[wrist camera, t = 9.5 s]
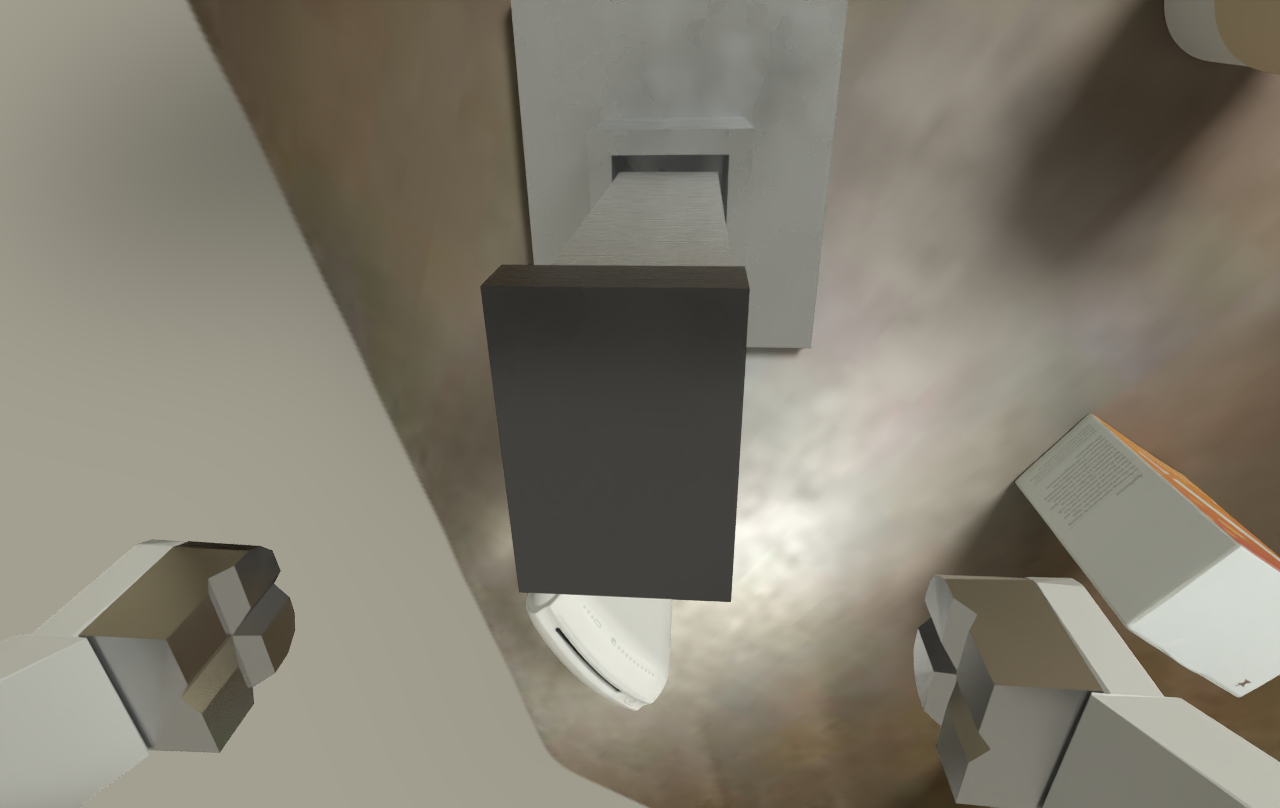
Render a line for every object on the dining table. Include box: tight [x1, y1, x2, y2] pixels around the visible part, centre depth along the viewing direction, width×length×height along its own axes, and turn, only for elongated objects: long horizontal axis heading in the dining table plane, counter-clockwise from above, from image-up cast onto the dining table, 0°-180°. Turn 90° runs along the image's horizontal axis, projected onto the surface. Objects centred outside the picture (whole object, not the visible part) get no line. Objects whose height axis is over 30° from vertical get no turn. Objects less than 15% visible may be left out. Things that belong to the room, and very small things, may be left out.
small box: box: [1015, 414, 1280, 697], centre depth 37 cm, size 8×6×13 cm
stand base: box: [511, 0, 848, 348], centre depth 30 cm, size 18×16×16 cm
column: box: [480, 172, 750, 602], centre depth 20 cm, size 6×4×19 cm, turn 1°
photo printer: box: [526, 593, 672, 711], centre depth 42 cm, size 10×4×12 cm, turn 37°
